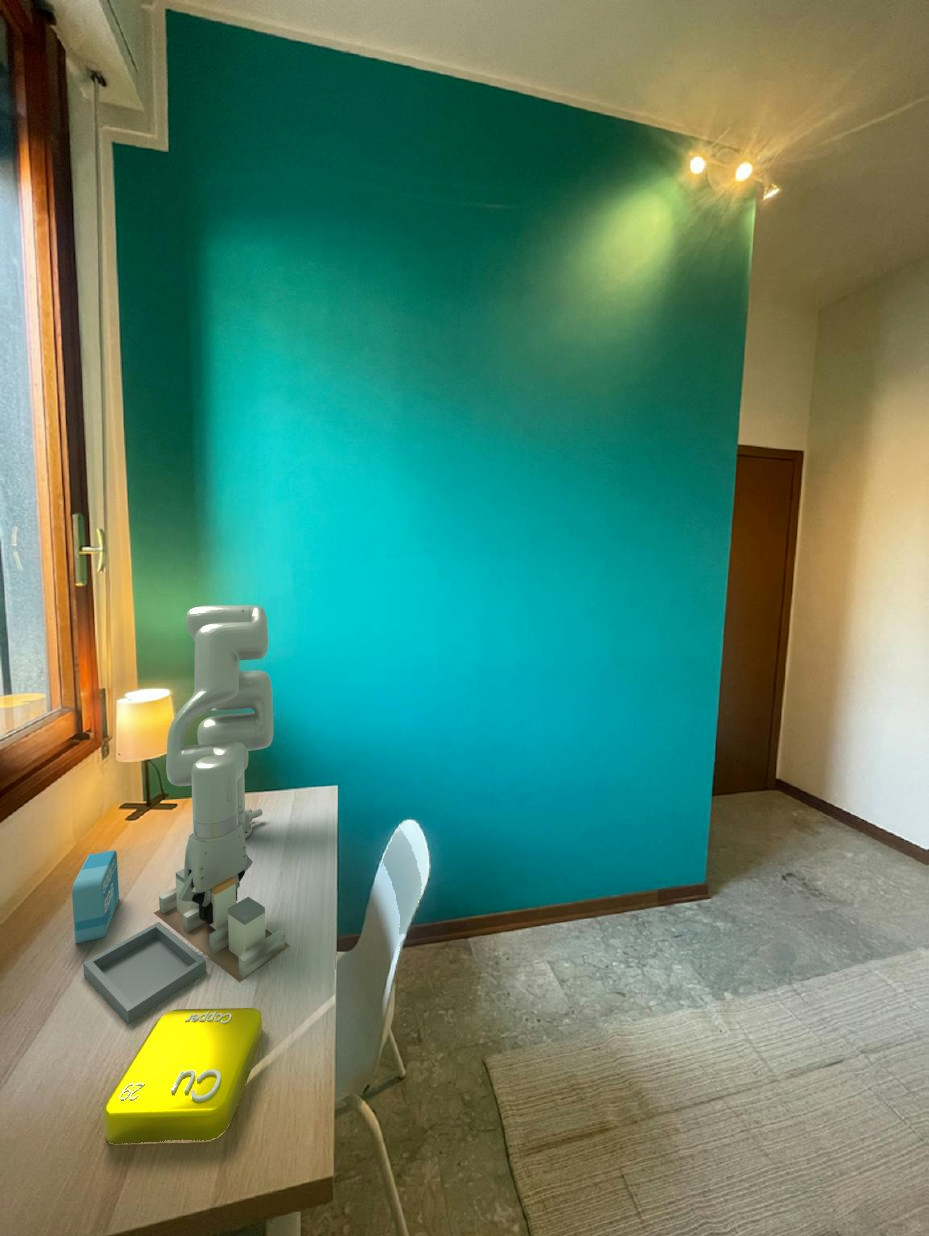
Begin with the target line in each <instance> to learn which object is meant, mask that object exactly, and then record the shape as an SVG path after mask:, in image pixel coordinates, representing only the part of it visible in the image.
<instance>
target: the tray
mask: <svg viewBox="0 0 929 1236" xmlns="http://www.w3.org/2000/svg"><path fill="white" fill-rule="evenodd" d="M82 964H83V965H82V966H83V976H84V977H85V979H87V981H88V982H89V983H90V984H91V985H92V986H93V987H94V988H95V990H97V992H98V993H99V994H100V995H101V996H102V997H103V998H104V999H105V1001H106V1002H107V1003H108V1004H109V1005H110V1006H111V1007H112V1009H114V1011H115V1012H116V1013H117V1014H118V1015H119V1016H120V1017H121V1019H122V1020H123V1021H124V1022H125V1023H126V1024H127V1025H131V1024H132V1023H134V1022H135V1021H137V1020H138V1019H139V1018H141V1017H142V1016H144V1015H146V1014H147V1013H148V1012H150V1011H152V1010H153V1009H155V1008H156V1007H157V1006H158V1005H160V1004H161V1003H163V1002H165V1001H166V1000H168V999H169V998H171V997H172V996H174V995H175V994H176V993H178V992H179V991H181V990H183V989H184V988H186V987H187V986H188V985H190V984H191V983H193V982H195V981H196V980H197V979H199V978H200V977H201V976H203V975H205V974H207V960H206V959H205V958H204V957H203V955H200V953H198V952H197V951H195V950H194V948H192V947H191V946H189V945H188V944H187V943H186V942H184V941H183V940H182V939H181V938H180V937H178V936H177V935H176V934H175V933H173V932H172V931H171V930H170V929H168V928H167V927H166V926H165V925H164V924H163V923H161V922H160V921H158V922H155V923H154V924H152V925H150V926H148V927H147V928H144V929H142V930H141V931H139V932H137V933H135V934H134V935H132V936H130V937H128V938H126V939H124V940H123V941H120V942H119V943H117V944H115V945H113V946H112V947H110V948H108V949H106V950H105V951H102V952H100V953H99V954H97V955H95V956H93V957H91V958H89V959H88V960H86V961H84V962H83V963H82Z"/></svg>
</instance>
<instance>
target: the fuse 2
mask: <svg viewBox="0 0 929 1236" xmlns="http://www.w3.org/2000/svg"><path fill="white" fill-rule="evenodd" d="M265 929H266V907H265V906H264V905H263V904H261V903H259V902H258V901H256V900H254V899H253V898H252V897H250V896H247V897H245V898H244V899H242V900H240V901H238V902H236V904H235V905H233V906H231V907H230V908H228V932H229V950H230V951H231V952H232V953H234V954H235V955H236V956H238V957H240V956H241V955H243V954H244V953H245V952H247V951H248V950H250V949H251V948H253V947H254V946H256V945H257V944H259V943H260V942H262V941H263V940H264V939H265Z"/></svg>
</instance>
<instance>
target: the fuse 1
mask: <svg viewBox="0 0 929 1236" xmlns="http://www.w3.org/2000/svg"><path fill="white" fill-rule="evenodd" d="M184 885H185V881H184V868H181V869H180V870H178V871H176V872H175V888H176V896H177V911H179V912H180V913H181V914H185V913H186V912H188V911H190V910H192V909H194V908H195V907H197V906H199V904H198V903H195V902H193V901H191V902H188V901H182V900H181V899H179V895H180V893H181V891H182V889H183V887H184ZM192 892H196V889H195V887H194V888H193V890H192Z"/></svg>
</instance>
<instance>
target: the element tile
mask: <svg viewBox="0 0 929 1236" xmlns="http://www.w3.org/2000/svg"><path fill="white" fill-rule="evenodd" d="M262 1024H263V1023H262V1013H261V1011H260V1010H259V1009H257V1008H253V1007H252V1008H251V1007H239V1008H238V1007H236V1008H235V1007H234V1008H231V1007H230V1008H229V1007H228V1008H224V1007H223V1008H186V1009H185V1008H180V1009H178V1008H177V1009H174V1010H169V1011H167V1012H165V1013H164V1014H163V1015H161V1016H160V1017H159V1018H158V1019H157V1021H155V1023H154V1025H153V1027H152V1028H151V1030H150V1031H149V1033H147V1034H148V1035H147V1036H146V1038H145V1039H144V1041H143V1042H142V1044H141V1046H140V1047H139V1049H138V1051H137V1052H136V1053H135V1056H134V1057H133V1059H132V1060H131V1062H130V1064H128V1067H127V1068H126V1069H125V1072H123V1074H122V1076H121V1078H120V1079H119V1081H118V1083H117V1084H116V1086H115V1088H114V1089H113V1091H112V1092H111V1093H110V1096H109V1097H108V1098H107V1100H106V1102H105V1106H104V1110H103V1120H104V1136H106V1138H105V1141H106V1140H107V1141H108V1142H110V1143H113V1144H122V1143H123V1144H124V1143H128V1144H129V1143H130V1144H131V1143H141V1142H143V1143H144V1142H160V1141H161V1142H162V1141H163V1142H164V1141H165V1140H166V1141H167V1140H171V1141H172V1140H182V1139H183V1140H192V1141H193V1140H195V1141H197V1140H198V1141H199V1140H200V1141H202V1140H204V1141H206V1140H211V1139H213V1138H217V1137H218V1136H219V1135H220V1134H221V1133H223V1132H224V1131H225V1130H226V1129H227V1127H228V1125H229V1124H230V1122H231V1120H232V1121H233V1119H232V1117H233V1114H234V1112H235V1113H236V1111H237V1109H236V1107H237V1108H238V1106H237V1104H238V1102H239V1103H240V1101H239V1099H240V1100H241V1098H240V1096H241V1093H242V1091H243V1092H244V1090H245V1088H244V1087H246V1085H245V1084H247V1082H248V1079H249V1077H250V1073H251V1072H252V1069H251V1066H252V1063H253V1060H254V1058H255V1055H256V1053H257V1050H258V1048H259V1045H260V1042H261V1039H262V1036H263V1030H262V1026H263V1025H262ZM243 1089H244V1090H243ZM242 1094H243V1093H242ZM241 1097H242V1096H241ZM238 1105H239V1104H238ZM235 1110H236V1111H235ZM234 1115H235V1114H234ZM233 1118H234V1117H233ZM231 1123H232V1122H231ZM227 1130H228V1129H227ZM107 1141H106V1142H107Z"/></svg>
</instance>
